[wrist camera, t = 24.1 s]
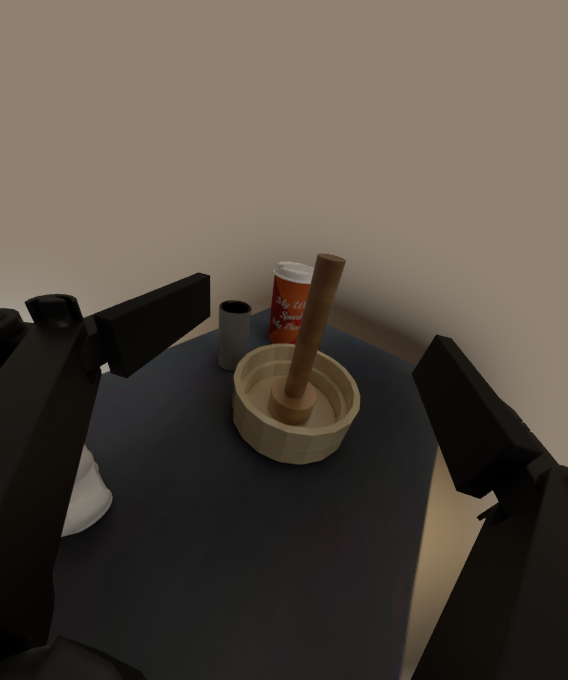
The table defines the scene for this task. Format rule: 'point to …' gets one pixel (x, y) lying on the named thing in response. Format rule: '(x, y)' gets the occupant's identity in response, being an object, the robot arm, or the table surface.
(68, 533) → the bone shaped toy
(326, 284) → the brown tall rod post
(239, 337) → the dark grey hollow cylinder
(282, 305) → the coffee cup
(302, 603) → the table surface
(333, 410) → the bowl
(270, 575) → the table surface
